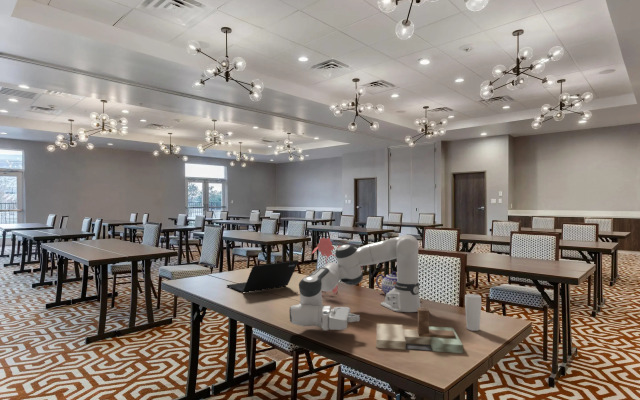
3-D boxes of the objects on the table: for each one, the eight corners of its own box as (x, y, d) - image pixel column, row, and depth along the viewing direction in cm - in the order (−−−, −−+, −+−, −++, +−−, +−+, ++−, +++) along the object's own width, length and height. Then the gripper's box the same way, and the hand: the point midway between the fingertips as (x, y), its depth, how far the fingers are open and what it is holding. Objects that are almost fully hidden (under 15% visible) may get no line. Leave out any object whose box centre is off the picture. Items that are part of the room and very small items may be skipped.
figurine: (316, 287, 248) (316, 235, 247) (348, 293, 231) (348, 237, 231) (301, 292, 236) (300, 237, 235) (333, 299, 219) (333, 239, 219)
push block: (418, 336, 149) (418, 310, 149) (417, 331, 155) (417, 306, 155) (455, 338, 146) (455, 312, 146) (452, 333, 152) (452, 308, 152)
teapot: (370, 294, 230) (370, 270, 231) (383, 290, 242) (383, 267, 242) (406, 301, 214) (406, 275, 214) (418, 296, 225) (418, 272, 225)
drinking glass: (467, 326, 171) (467, 293, 171) (483, 329, 167) (483, 295, 167) (462, 329, 166) (462, 295, 166) (478, 333, 161) (478, 298, 162)
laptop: (269, 281, 270) (269, 254, 270) (298, 290, 240) (299, 260, 241) (225, 287, 250) (226, 258, 250) (252, 298, 220) (252, 265, 220)
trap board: (376, 347, 144) (376, 339, 144) (376, 330, 164) (376, 323, 164) (463, 353, 139) (463, 345, 139) (452, 334, 159) (452, 327, 159)
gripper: (329, 316, 168) (360, 318, 166) (323, 331, 148) (358, 334, 145) (329, 302, 168) (360, 304, 166) (323, 315, 148) (358, 317, 146)
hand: (359, 318), depth 155 cm, fingers closed
